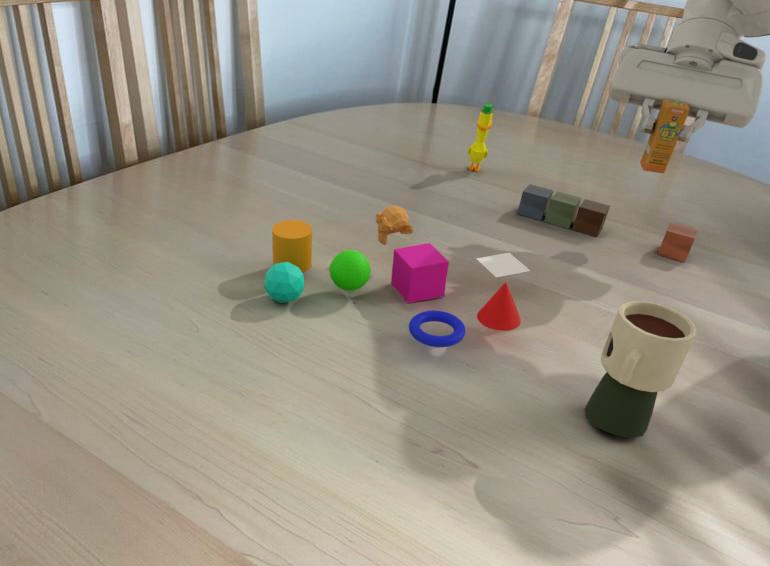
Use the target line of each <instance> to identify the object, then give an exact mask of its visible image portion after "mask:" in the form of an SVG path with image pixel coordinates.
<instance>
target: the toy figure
mask: <svg viewBox="0 0 770 566" xmlns="http://www.w3.org/2000/svg"><path fill="white" fill-rule="evenodd" d="M493 108H494V105H493V104H491V103H484V104H483V108H481V110H480V113H479V117H478V120H477V121H476V127H477V128H476V138H475V141H474V142H473V143H472V144H471V145H470V146H468V149H467V154H468V156H469V157H468V158H469V159H470V162H471V163H470V164H469V167H468V168H469V171H474V172H479V171H480V169H481V166H480V164H481V163H482V162H483V161H484V160H485V159H487V157H488V156H489V155H488V154H489V149H488V147H487V146H486V143H485V142H486V140H487V136H488V133H489V131H490V129H491V128H492V125H493V117H494V110H493Z"/></svg>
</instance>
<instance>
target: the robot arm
mask: <svg viewBox="0 0 770 566" xmlns="http://www.w3.org/2000/svg"><path fill="white" fill-rule="evenodd" d="M766 36H767V37H768V36H770V0H686V3H685V5H684V7H683V14H682V19H681V20H680V21H679V23H678V24H677V26H676V27H675V29H674V31H673V34H672V36H671V39H670V40H669V43H668V46H667V47H662V46H657V45H656V46H655V45H648V44H645V43H641V42H637V43H635V44H631V45H628V46H626V47H625V48H623V49H622V51H621V53H620V55H619V58H618V60H617V61H618V62H617V63H618V66H617V68H616V70H615V71H614V73H613V75H612V77H611V79H610V81H609V85H608V90H607V91H608V96H609V98H610V100H612V101H614V102H615V101H616V102H620V103H623V104H624V103H625V104H629V105H634V106H638V107H641V111H640V113H641V118H642V122H643V123H642V124H641V125H642V126H641V128H640V133H644V134H649V135H651V132H652V129H653V127H654V125H655V121H656V118H655V117H652V116H651V114H652V111H653V110H657V111H659V110H660V108H661V105H662V102H663V100H664V99H668V100H673V101H679V102H686V103H687V105H688V107H689V109H690V110H689V113H688V116H687V117H688V118H694V121H693V122H692V123H691V124H690V125H685V124H684V126H683V128H682V130H681V133H680V135H679V138H678V140H677V142H678V141H679V142H682V143H689V141H690V139H691V137H692V134H693V135H694V133H696V132H697V131H699V130H700V129H702V128H703V127H704V126H705V123H706V121H707V122H712V123H717V124H719V125H720V124H721V125H725V126H729V127H733V128H734V127H735V128H739V129H743V128H745V127H747V126H748V125H750V124H751V122H752V121H753V119H754V116H755V114H756V112H757V109H758V107H759V104H760V100H761V96H762V92H763V85H764V75H763V72H762V70H763V68H764V65H765V61H766V57H767V54H766V52H765V51H764V50H762V49H760V48H759V47H756V46H754V45H752V44H751V43H748V42H747V41H744V40H743V39H741V38H742V37H744V38H760V37H766Z"/></svg>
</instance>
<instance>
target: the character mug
mask: <svg viewBox="0 0 770 566" xmlns="http://www.w3.org/2000/svg"><path fill="white" fill-rule="evenodd" d="M608 333H609V334H608V336H607V339H606V341H605V344H604V346H603V349H602V352H601V355H600V362H601V365H602V368H604V370H605V373H604V375H603V376H602V378H601V379H600V381H599V382H598V384H597V385H596V387H595V389H594V390H593V392H592V394H591V395H590V398H589V400H588V401H587V403H586V405H585V407H584V415H585V418H586V419H587V420H588V422H589V423H590V424H591V425H592V426H593V427H595V428H598V429H600V430H601V431H603V432H606V433H609V434H611V435H612V434H613V435H614V436H615V435H616V436H618V437H623V438H629V439H635V438H636V439H637V438H640V437H644V435H645V434H646V432H647V431H648V428H649V426H650V422H651V419H652V416H653V413H654V409H655V404H656V401H657V398H658V397H657V396H658V393H659V392H665V391H666V390H668V389H670V388H671V387H673V385H674V383H675V381H676V379H677V377H678V375H679V373H680V370H681V368H682V367H683V364H684V362H685V360H686V357H687V355H688V353H689V351H690V349H691V347H692V345H693V342H694V340H695V337H696V335H697V327H696V325H695V324H694V322H693V321H692V320H691V319H690V318H689V317H688V316H687V315H685V314H684V313H682V312H680V311H678V310H676V309H675V308H673V307H670V306H668V305H664V304H661V303H657V302H652V301H646V300H645V301H644V300H632V301H627V302H624V303H623V304H621V305H620V306H619V308H618V311H617V313H616V315H615V317H614V320H613V323H612V326H611V328H610V331H609V332H608Z"/></svg>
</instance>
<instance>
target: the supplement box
mask: <svg viewBox="0 0 770 566" xmlns="http://www.w3.org/2000/svg"><path fill="white" fill-rule="evenodd" d="M689 110H690V109H689V107H688V105H687V103H686V102H679V101H673V100H668V99H664V100H663V102H662V105H661V108H660V110H658V112H657V116H656V118H655V119H656V121H655V125H654V127H653V129H652V132H651V134H649V137H648V141H647V143H646V145H645V148H644V150H643V153H642V156H641V159H640V161H639V163H640V164H639V165H640V166H641V169H642V171H645V172H651V173H656V174H657V173H658V174H665V172H666V170H667V167H668V165H669V163H670V160H671V158H672V155H673V153H674V150H675V148H676V145H677V143H678V138H679V135H680V133H681V130H682V128H683V126H684V125H685V123H686V120H687V117H688V113H689Z"/></svg>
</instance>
